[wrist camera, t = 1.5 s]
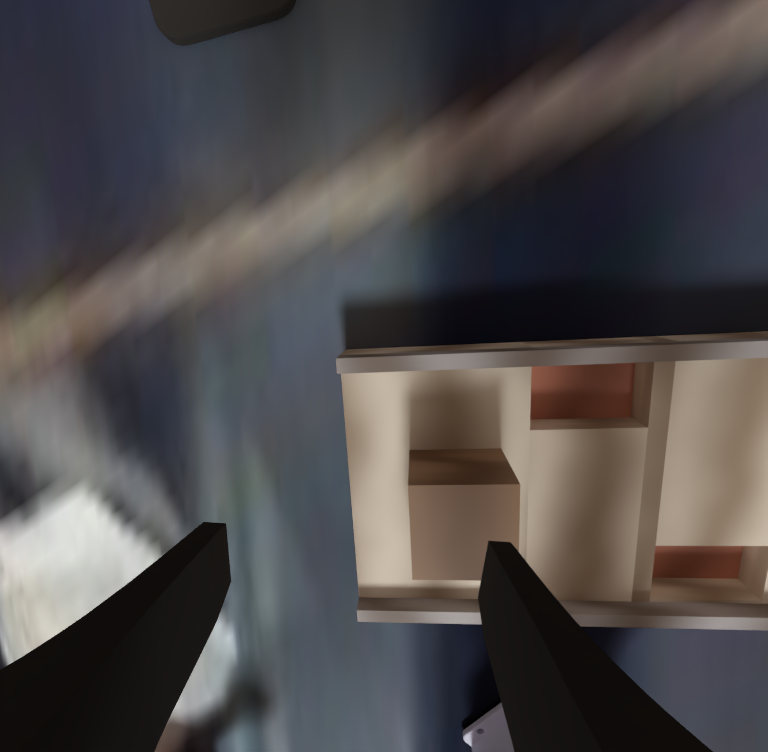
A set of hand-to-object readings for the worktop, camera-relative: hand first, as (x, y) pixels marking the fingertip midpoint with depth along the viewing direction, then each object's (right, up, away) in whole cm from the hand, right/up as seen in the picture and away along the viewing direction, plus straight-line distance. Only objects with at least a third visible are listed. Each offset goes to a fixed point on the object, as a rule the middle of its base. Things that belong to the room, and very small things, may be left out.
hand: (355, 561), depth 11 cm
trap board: (+14, -1, +12) cm, 19 cm away
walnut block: (+5, -1, +11) cm, 12 cm away
